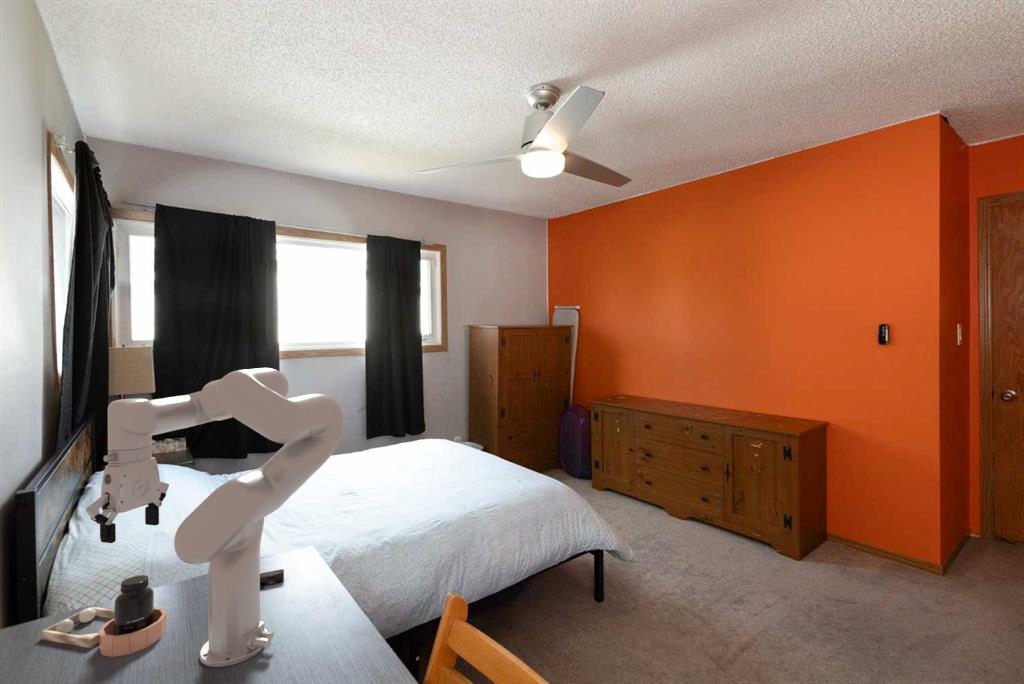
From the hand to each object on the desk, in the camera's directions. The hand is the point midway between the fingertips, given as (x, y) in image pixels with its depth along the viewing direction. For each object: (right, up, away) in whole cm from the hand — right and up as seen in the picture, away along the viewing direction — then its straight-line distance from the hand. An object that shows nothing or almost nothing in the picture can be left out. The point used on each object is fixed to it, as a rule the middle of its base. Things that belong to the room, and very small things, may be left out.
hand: (131, 532), depth 105 cm
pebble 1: (-16, -23, +2) cm, 28 cm away
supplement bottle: (+1, -23, 0) cm, 23 cm away
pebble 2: (-15, -23, +6) cm, 28 cm away
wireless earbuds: (+19, -23, +22) cm, 37 cm away
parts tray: (-11, -23, +3) cm, 26 cm away
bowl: (+1, -23, -1) cm, 23 cm away
